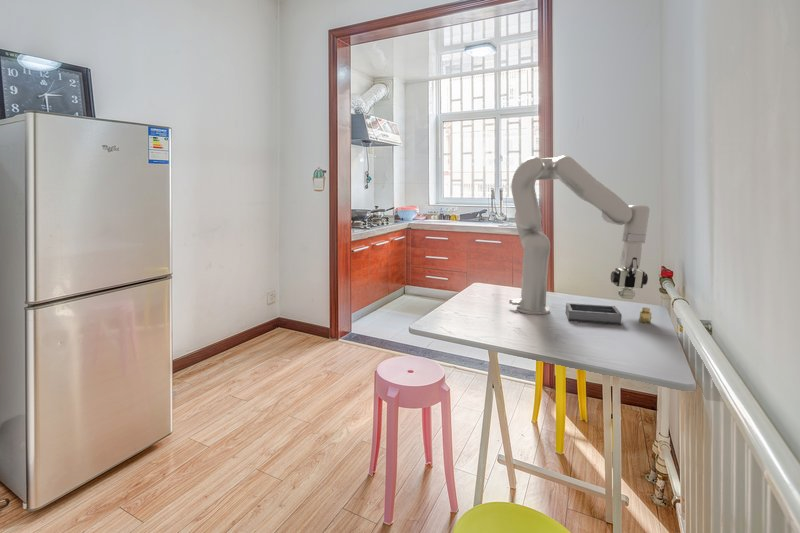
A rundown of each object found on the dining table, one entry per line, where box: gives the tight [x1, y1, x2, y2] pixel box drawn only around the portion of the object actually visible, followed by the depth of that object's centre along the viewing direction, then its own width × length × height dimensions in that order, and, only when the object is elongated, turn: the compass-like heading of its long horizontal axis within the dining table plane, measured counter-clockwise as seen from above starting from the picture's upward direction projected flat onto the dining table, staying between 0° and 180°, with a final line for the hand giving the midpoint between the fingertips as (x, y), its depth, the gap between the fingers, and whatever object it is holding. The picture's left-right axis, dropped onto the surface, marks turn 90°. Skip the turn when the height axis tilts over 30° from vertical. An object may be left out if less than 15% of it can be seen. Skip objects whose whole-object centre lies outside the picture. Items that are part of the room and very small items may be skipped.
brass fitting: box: [638, 307, 652, 324], centre depth 152 cm, size 4×4×5 cm
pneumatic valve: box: [610, 267, 649, 300], centre depth 160 cm, size 6×12×12 cm, turn 79°
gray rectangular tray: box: [565, 302, 623, 326], centre depth 157 cm, size 17×13×4 cm
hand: (627, 284), depth 160 cm, fingers closed on pneumatic valve, 5 cm apart
